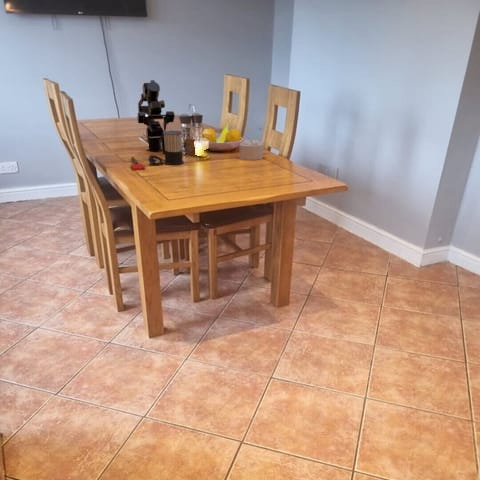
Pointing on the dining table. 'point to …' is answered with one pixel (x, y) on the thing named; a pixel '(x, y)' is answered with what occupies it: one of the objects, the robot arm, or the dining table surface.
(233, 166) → the dining table surface
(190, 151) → the tin
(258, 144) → the lumpy-topped squat cylinder
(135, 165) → the spatula
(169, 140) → the milk frother
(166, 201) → the dining table surface
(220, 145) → the fruit bowl
